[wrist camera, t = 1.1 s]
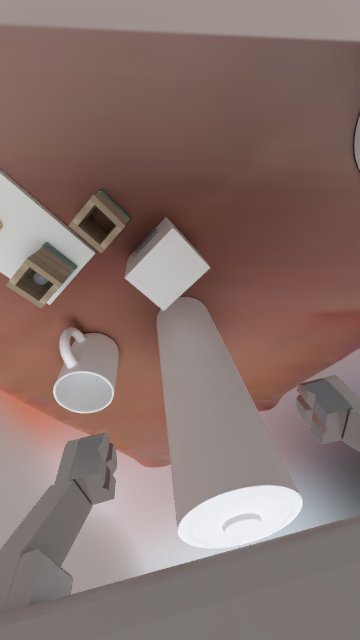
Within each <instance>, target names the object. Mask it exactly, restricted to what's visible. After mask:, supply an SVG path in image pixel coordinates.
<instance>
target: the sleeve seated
mask: <svg viewBox="0 0 360 640" xmlns="http://www.w3.org/2000/svg"><path fill="white" fill-rule="evenodd" d="M77 267H78V266H77V265H76V264H75V263H73V262H72V261H71V260H70V259H68V258H67V257H66V256H64V255H63V254H62V253H61V252H59V251H58V250H57V249H56V248H54V247H53V246H52V245H50V244H49V243H48V242H46V243H44V244H43V245H42V247H41V248H40V249H39V250H38V251H37V252H35V253H34V254H32V255H31V256H29V257H28V258H27V259H26V260H25V261H24V263H23V264H22V265H21V266H20V268H19V269H18V270H17V272H16V273H15V274H14V275H13V277H12V278H11V279H10V280H9V282H8V283H7V284H6V286H7V287H9V288H10V289H12V290H14V291H15V292H17V293H18V294H20V295H21V296H23V297H24V298H26V299H27V300H29V301H30V302H32V303H34V304H35V305H37V306H38V307H40V308H42V307H43V306H44V305H45V304H46V302H47V301H48V300H49V299H50V298H51V297H52V296H53V294H54V293H55V292H56V291H57V290H58V289H59V288H60V287H61V286H62V284H63V283H64V282H65V281H66V280H67V279H68V278H69V276H70V275H71V274H72V273H73V272H74V271H75V270H76V268H77ZM36 272H37V273H39V274H40V275H41V276H43V277H44V278H46V279H47V280H48V282H47V283H46V284H44V285H40V284H37V283H36V282H35V281H34V278H33V276H34V274H35V273H36Z"/></svg>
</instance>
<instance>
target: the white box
mask: <svg viewBox="0 0 360 640" xmlns="http://www.w3.org/2000/svg"><path fill="white" fill-rule="evenodd" d="M209 269H210V267H209V265H208V264H207V263H206V261H205V260H204V259H203V258H202V256H201V255H200V254H199V252H198V251H197V250H196V249H195V248H194V246H193V245H192V244H191V243H190V242H189V241H188V240H187V239H186V238H185V237H184V236H183V234H182V233H181V232H180V231H179V230H178V229H177V228H176V227H175V226H174V225H173V224H172V223H171V221H170V220H169V219H168V218H167V217H165V218H164V219H163V220H162V221H161V222H160V224H159V225H158V226H157V227H154V228H153V229H152V230H151V231H150V232H149V233H148V234H147V235H146V236H145V237H144V238H143V239H142V241H141V242H140V243H139V244H138V245H137V246H136V247H135V250H134V251H133V252H132V253H131V255H130V256H129V257H128V261H127V267H126V273H125V279H126V280H128V281H129V282H130V283H131V284H132V285H134V286H135V287H136V288H137V289H138V290H139V291H141V292H142V293H143V294H144V295H145V296H147V297H148V298H149V299H150V300H151V301H152V302H154V303H155V304H156V305H157V306H158V307H160V308H161V309H162V310H163V311H164V310H166V309H167V308H168V307H169V306H170V305H171V304H172V303H173V302H174V301H175V300H176V299H177V298H178V297H180V296H181V295H182V294H183V293H184V292H185V291H186V290H187V289H188V288H189V287H190V286H191V285H192V284H193V283H195V282H196V281H197V280H198V279H199V278H200V277H201V276H202V275H203V274H204V273H205V272H206V271H207V270H209Z"/></svg>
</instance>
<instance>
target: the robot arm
mask: <svg viewBox="0 0 360 640" xmlns="http://www.w3.org/2000/svg"><path fill="white" fill-rule="evenodd" d="M354 148H355V157H356V162H357V165H358V167H359V170H360V117H359V120H358V124H357V128H356V133H355V143H354ZM297 391H298V392H299V393H300V395H299V396H298V397H297V402H296V404H297V407H298V411H299V413H300V415H301V416H302V418H303V419H304V420H305V421H306V422H309V423H310V424H311V431H312V432H313V433H314V435H315V436H316V437H317V439H318V440H319V442H320V443H321V444H325V443H330V442H334V441H339V440H342V441H343V442H345V443H346V444H348V445H349V446H351V447H353V448H354V449H356V450H357V451H359V452H360V398H359V397H358V396H357V395H356V394H355V393H354V392H353V391H352V390H351V389H350V388H349V387H348V386H347V385H346V384H345V383H344V382H343V381H341V380H340V379H339V378H338V377H337V376H330V377H326V378H322V379H317V380H313V381H309V382H305V383H302V384H299V385H298V389H297ZM116 468H117V457H116V450H115V447H114V445H113V444H111V443H109V436H108V434H107V433H102V434H98V435H93V436H89V437H85V438H80V439H76V440H71V441H68V443H67V444H66V446H65V448H64V452H63V456H62V459H61V463H60V466H59V470H58V474H57V477H56V481H55V484H54V485H52V486H50V487H49V488H48V490H47V491H46V492H45V493H44V495H43V496H42V497H41V498H40V500H39V501H38V502H37V504H36V505H35V506H34V507H33V509H32V510H31V511H30V512H29V514H28V515H27V516H26V518H25V519H24V520H23V521H22V523H21V524H20V525H19V526H18V528H17V529H16V530H15V531H14V533H13V534H12V535H11V536H10V538H9V539H8V540H7V541H6V543H5V544H4V545H3V547H2V548H1V549H0V640H360V515H358V516H354V517H350V518H347V519H343V520H340V521H336V522H332V523H329V524H325V525H321V526H318V527H314V528H311V529H307V530H303V531H300V532H296V533H292V534H289V535H285V536H282V537H278V538H274V539H271V540H267V541H264V542H260V543H256V544H253V545H249V546H245V547H242V548H238V549H235V550H231V551H227V552H224V553H220V554H217V555H213V556H209V557H206V558H202V559H198V560H195V561H191V562H188V563H184V564H180V565H177V566H173V567H169V568H166V569H162V570H159V571H155V572H152V573H148V574H144V575H141V576H137V577H134V578H130V579H126V580H123V581H119V582H115V583H112V584H108V585H105V586H101V587H98V588H94V589H90V590H86V591H83V592H79V593H75V594H72V595H71V589H72V583H73V578H72V577H71V575H70V574H69V573H67V572H66V571H65V570H64V569H63V568H61V565H62V563H63V561H64V559H65V557H66V555H67V554H68V552H69V550H70V548H71V546H72V544H73V542H74V541H75V539H76V537H77V535H78V533H79V531H80V529H81V527H82V525H83V523H84V522H85V520H86V518H87V516H88V514H89V512H90V510H91V508H92V505H94V504H97V503H101V502H104V501H108V500H111V499H114V493H115V483H116V480H115V478H114V476H113V473H114V472H115V470H116Z"/></svg>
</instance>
